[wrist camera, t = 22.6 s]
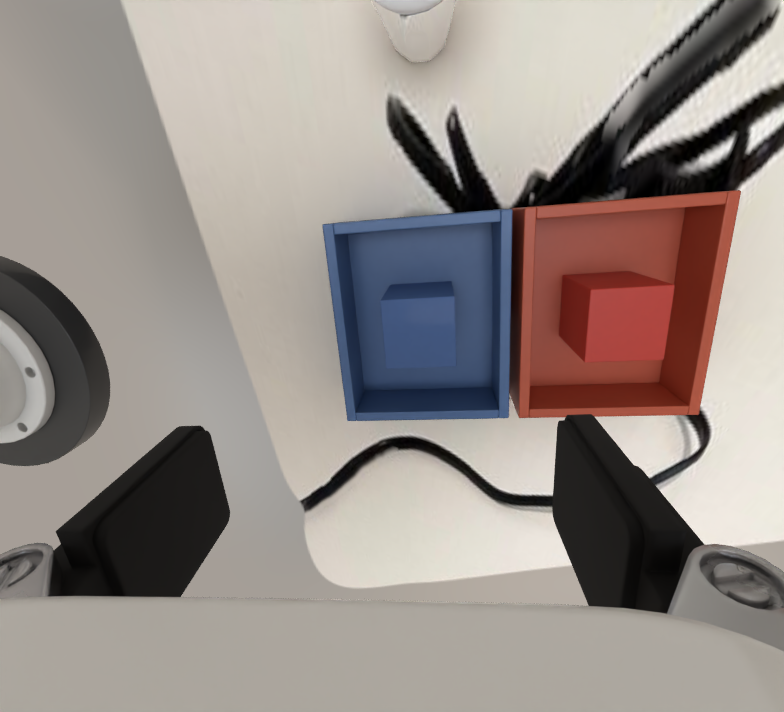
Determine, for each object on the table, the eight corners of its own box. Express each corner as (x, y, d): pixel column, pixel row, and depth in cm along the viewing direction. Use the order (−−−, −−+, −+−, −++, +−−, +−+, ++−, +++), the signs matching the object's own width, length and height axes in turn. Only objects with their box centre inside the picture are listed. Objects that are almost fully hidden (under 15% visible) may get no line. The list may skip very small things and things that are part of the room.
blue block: (394, 342, 28) (385, 369, 23) (390, 284, 27) (379, 300, 22) (453, 340, 27) (456, 366, 23) (451, 280, 26) (454, 296, 21)
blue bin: (358, 394, 30) (347, 421, 26) (339, 222, 26) (322, 224, 22) (499, 390, 29) (508, 418, 25) (501, 209, 25) (512, 209, 21)
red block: (558, 336, 26) (584, 363, 22) (562, 274, 25) (590, 289, 20) (623, 333, 26) (664, 360, 21) (630, 270, 25) (675, 284, 20)
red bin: (508, 390, 29) (518, 418, 25) (511, 208, 25) (524, 208, 21) (662, 386, 27) (699, 414, 24) (692, 193, 23) (742, 190, 20)
